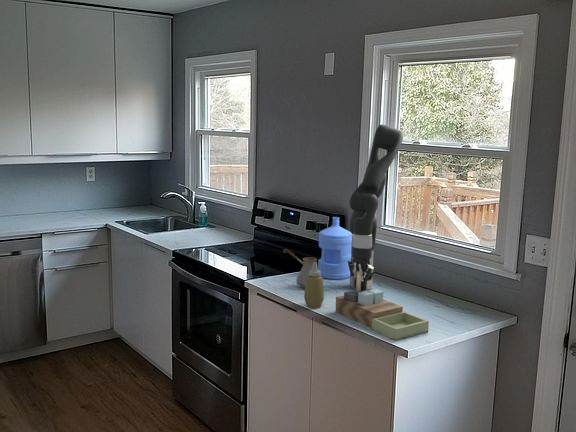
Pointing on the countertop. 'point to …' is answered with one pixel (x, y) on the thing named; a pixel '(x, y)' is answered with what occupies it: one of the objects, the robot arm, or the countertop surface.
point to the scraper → (353, 294)
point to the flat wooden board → (365, 310)
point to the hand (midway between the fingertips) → (360, 289)
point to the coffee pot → (303, 269)
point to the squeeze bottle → (314, 288)
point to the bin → (400, 325)
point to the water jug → (335, 251)
